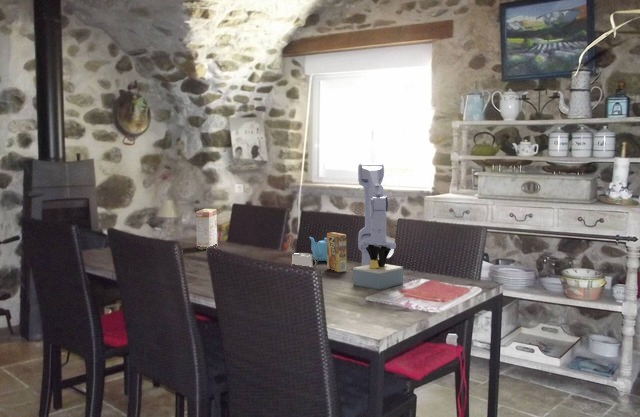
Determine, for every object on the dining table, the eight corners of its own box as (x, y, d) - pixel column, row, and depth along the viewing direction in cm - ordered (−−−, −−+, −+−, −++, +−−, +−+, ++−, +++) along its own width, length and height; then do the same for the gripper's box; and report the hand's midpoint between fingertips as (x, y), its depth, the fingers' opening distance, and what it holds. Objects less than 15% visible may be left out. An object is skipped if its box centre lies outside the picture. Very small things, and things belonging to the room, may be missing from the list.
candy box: (347, 271, 252) (347, 234, 250) (338, 272, 249) (338, 235, 248) (334, 268, 259) (334, 232, 258) (326, 269, 257) (326, 232, 255)
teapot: (340, 257, 286) (340, 235, 285) (346, 262, 271) (346, 239, 270) (309, 258, 284) (308, 236, 283) (313, 263, 269) (313, 240, 268)
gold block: (378, 271, 228) (378, 257, 228) (384, 272, 226) (384, 258, 226) (369, 273, 225) (369, 259, 224) (375, 274, 222) (375, 260, 222)
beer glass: (291, 297, 207) (291, 253, 206) (312, 296, 208) (311, 252, 206) (292, 302, 200) (291, 256, 199) (313, 301, 201) (313, 256, 200)
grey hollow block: (377, 279, 235) (377, 262, 235) (402, 284, 227) (402, 266, 226) (353, 285, 225) (353, 267, 225) (378, 290, 217) (379, 272, 216)
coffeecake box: (204, 245, 322) (203, 208, 320) (217, 245, 321) (217, 208, 319) (196, 250, 307) (195, 211, 305) (209, 250, 306) (209, 211, 304)
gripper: (356, 228, 227) (356, 265, 228) (387, 232, 216) (387, 270, 218) (368, 227, 232) (368, 262, 233) (399, 230, 222) (399, 267, 223)
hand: (378, 266), depth 226 cm, fingers closed on gold block, 3 cm apart
